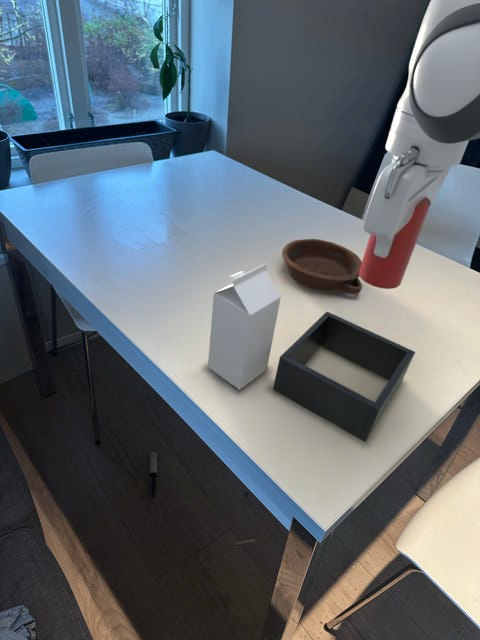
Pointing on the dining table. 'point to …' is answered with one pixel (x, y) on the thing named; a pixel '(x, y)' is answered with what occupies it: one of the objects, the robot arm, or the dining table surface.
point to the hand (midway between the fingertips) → (390, 245)
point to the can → (393, 252)
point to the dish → (323, 265)
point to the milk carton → (243, 326)
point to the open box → (328, 394)
